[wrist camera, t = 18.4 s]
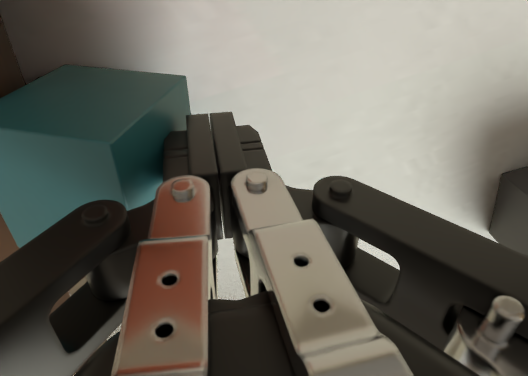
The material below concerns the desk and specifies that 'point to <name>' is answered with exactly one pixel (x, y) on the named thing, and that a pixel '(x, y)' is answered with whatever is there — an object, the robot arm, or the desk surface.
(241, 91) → the desk surface
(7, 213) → the block teal
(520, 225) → the block charcoal
